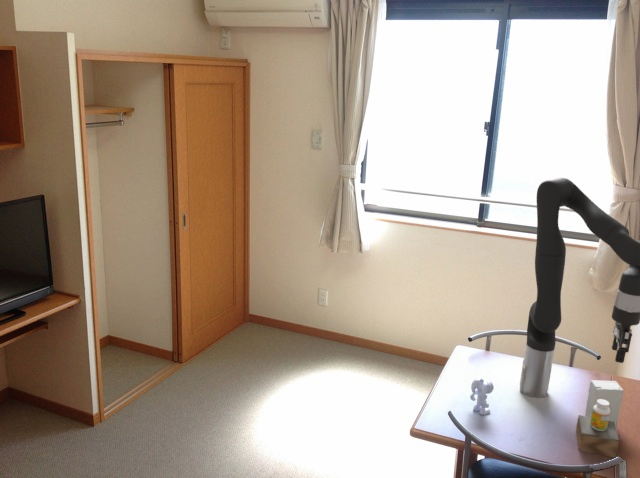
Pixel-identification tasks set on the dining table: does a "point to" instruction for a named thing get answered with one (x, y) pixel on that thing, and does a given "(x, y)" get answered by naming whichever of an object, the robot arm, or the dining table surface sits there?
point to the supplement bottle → (600, 415)
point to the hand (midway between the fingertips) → (617, 355)
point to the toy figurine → (481, 395)
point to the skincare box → (605, 397)
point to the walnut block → (596, 438)
